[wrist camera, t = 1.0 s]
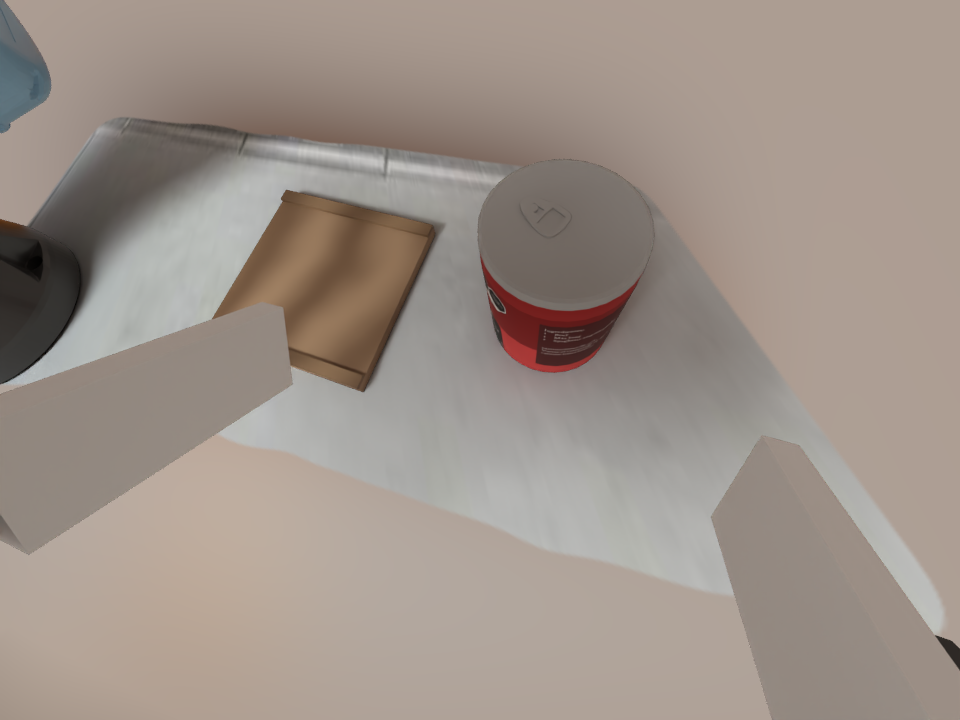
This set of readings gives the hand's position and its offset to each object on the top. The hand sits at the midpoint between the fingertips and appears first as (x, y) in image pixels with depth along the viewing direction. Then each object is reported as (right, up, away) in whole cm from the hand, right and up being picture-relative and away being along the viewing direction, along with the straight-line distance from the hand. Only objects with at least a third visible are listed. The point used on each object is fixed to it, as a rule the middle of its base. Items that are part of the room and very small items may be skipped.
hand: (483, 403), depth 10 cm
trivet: (-13, +7, +20) cm, 25 cm away
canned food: (+5, +4, +17) cm, 18 cm away
